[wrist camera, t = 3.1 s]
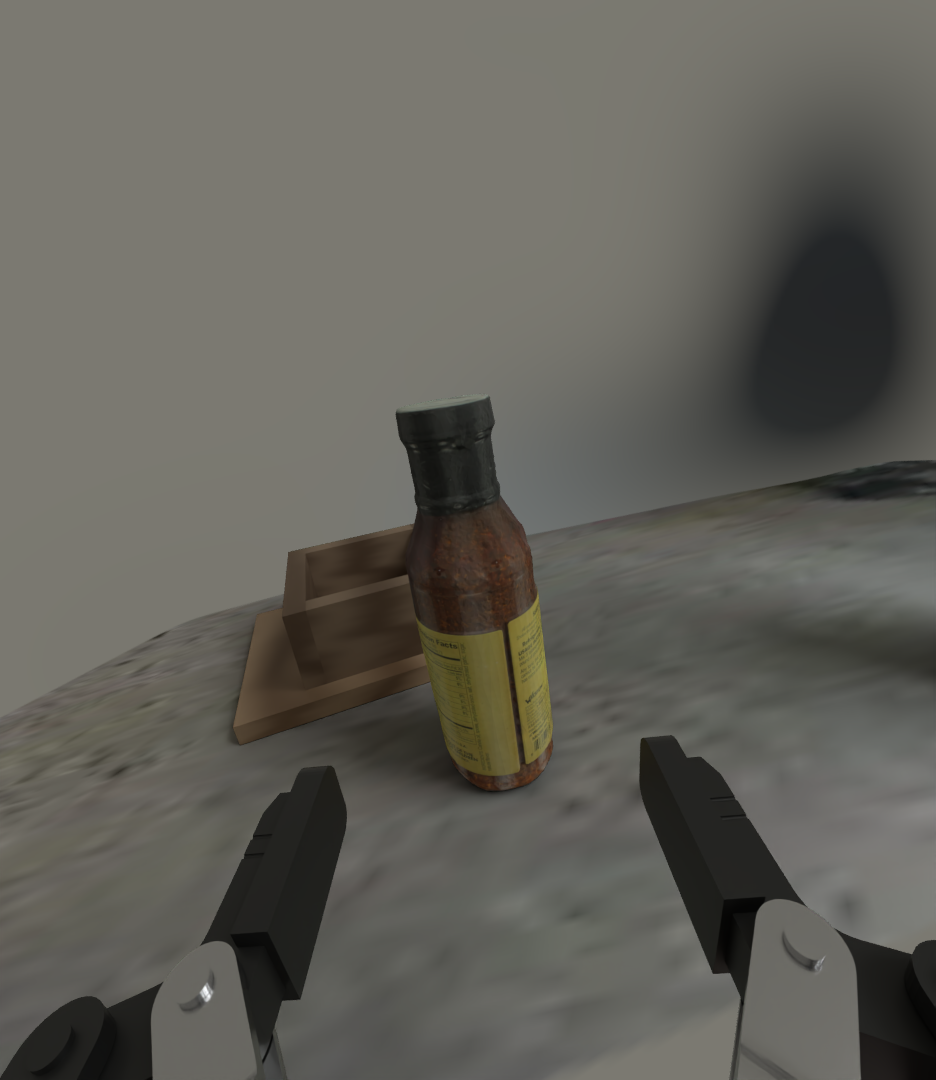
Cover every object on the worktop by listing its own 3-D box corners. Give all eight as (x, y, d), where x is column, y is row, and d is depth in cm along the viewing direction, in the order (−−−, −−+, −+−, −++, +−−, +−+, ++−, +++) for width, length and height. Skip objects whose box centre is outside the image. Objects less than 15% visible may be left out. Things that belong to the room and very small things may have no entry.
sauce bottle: (524, 699, 29) (495, 388, 22) (576, 772, 23) (560, 386, 16) (431, 734, 27) (365, 407, 20) (463, 822, 22) (389, 412, 14)
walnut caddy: (469, 571, 49) (461, 508, 46) (538, 645, 34) (531, 559, 32) (261, 627, 42) (238, 558, 40) (240, 745, 28) (200, 649, 26)
